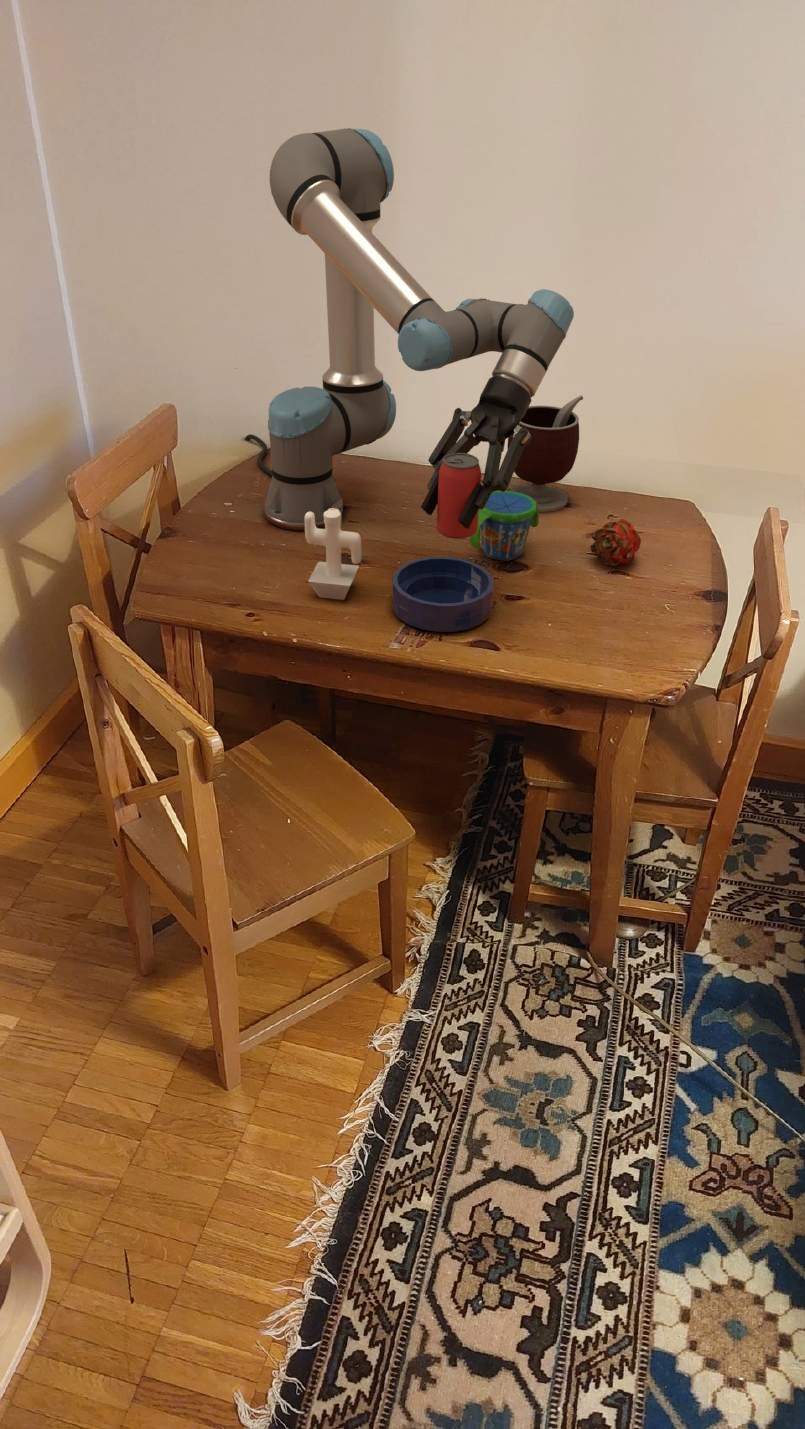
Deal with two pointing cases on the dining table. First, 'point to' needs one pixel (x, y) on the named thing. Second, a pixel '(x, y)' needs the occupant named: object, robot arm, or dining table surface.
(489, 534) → the snack cup
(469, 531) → the beer can
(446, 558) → the bowl
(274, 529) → the dining table surface
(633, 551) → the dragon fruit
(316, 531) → the figurine
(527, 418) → the mate gourd
